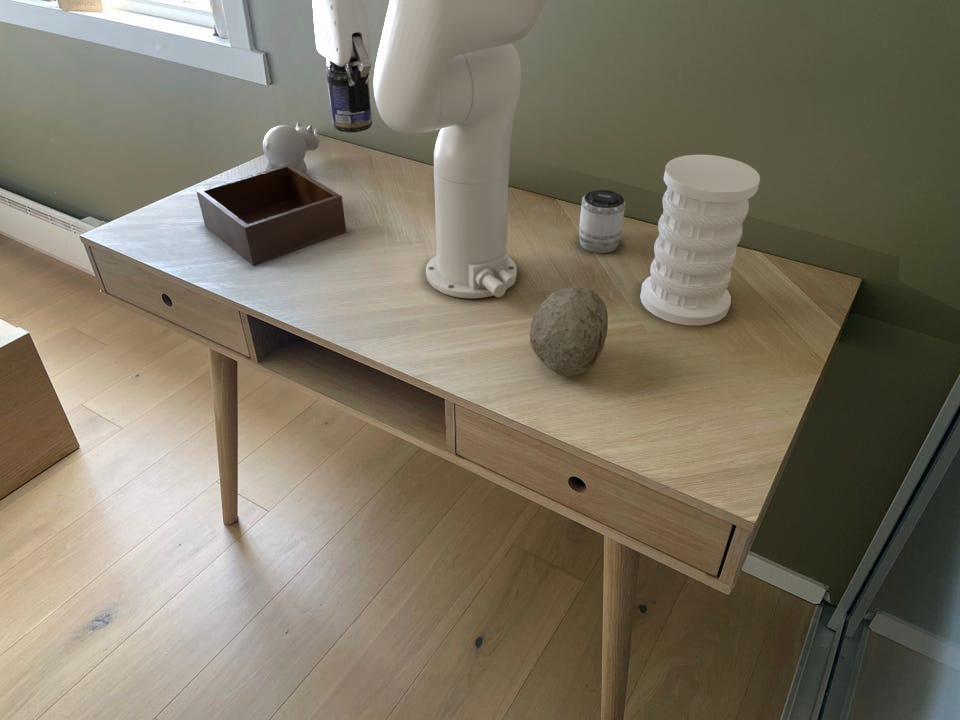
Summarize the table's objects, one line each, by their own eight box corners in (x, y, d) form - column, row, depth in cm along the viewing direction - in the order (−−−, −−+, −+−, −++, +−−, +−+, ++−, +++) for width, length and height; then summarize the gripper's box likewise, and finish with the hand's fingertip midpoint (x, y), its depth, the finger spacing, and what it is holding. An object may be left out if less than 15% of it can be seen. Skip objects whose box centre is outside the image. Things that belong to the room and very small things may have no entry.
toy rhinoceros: (336, 163, 131) (330, 116, 125) (289, 186, 123) (281, 137, 117) (306, 154, 134) (300, 108, 128) (259, 176, 126) (250, 128, 120)
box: (346, 232, 110) (342, 195, 106) (253, 266, 102) (244, 228, 98) (294, 198, 119) (289, 163, 115) (205, 227, 111) (196, 190, 107)
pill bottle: (379, 127, 112) (374, 53, 105) (345, 136, 109) (337, 61, 102) (358, 117, 116) (352, 44, 109) (325, 125, 112) (316, 51, 106)
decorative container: (641, 321, 91) (664, 189, 80) (638, 274, 100) (659, 150, 89) (734, 329, 90) (771, 196, 79) (723, 281, 99) (755, 156, 88)
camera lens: (583, 231, 111) (588, 183, 106) (623, 238, 109) (630, 190, 104) (572, 250, 106) (577, 200, 101) (614, 257, 104) (622, 208, 99)
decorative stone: (548, 333, 89) (553, 263, 83) (613, 352, 86) (624, 281, 80) (513, 379, 82) (517, 306, 76) (583, 401, 79) (592, 328, 73)
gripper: (289, -35, 103) (306, 92, 114) (335, -13, 92) (350, 126, 103) (338, -39, 106) (350, 85, 117) (389, -19, 95) (397, 117, 106)
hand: (350, 103), depth 110 cm, fingers closed on pill bottle, 6 cm apart
